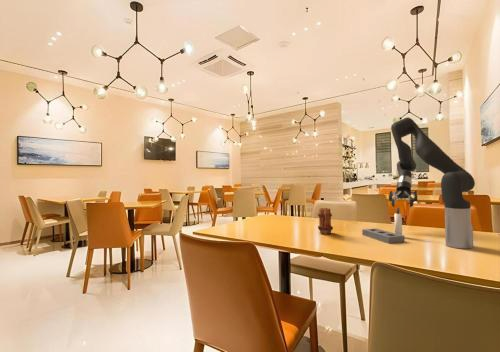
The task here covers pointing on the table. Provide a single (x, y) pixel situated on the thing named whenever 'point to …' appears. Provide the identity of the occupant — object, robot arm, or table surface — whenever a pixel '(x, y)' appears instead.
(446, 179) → the robot arm
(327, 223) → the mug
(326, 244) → the table surface
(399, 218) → the plug
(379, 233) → the gray slotted tray
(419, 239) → the table surface
